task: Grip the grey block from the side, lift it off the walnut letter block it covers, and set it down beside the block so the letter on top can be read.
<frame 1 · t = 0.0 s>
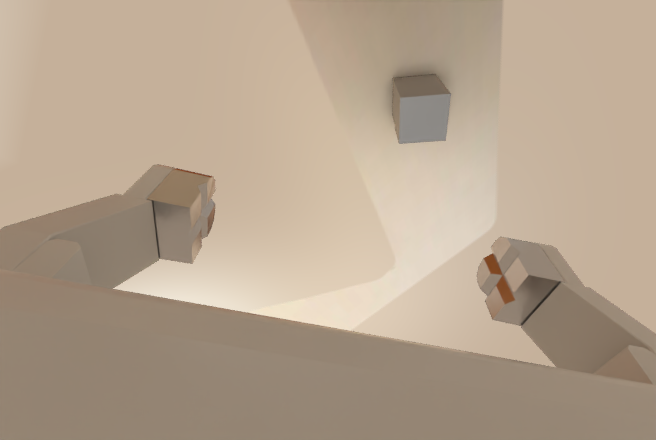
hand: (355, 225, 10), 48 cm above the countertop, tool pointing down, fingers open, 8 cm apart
grey block: (413, 97, 54), on the countertop
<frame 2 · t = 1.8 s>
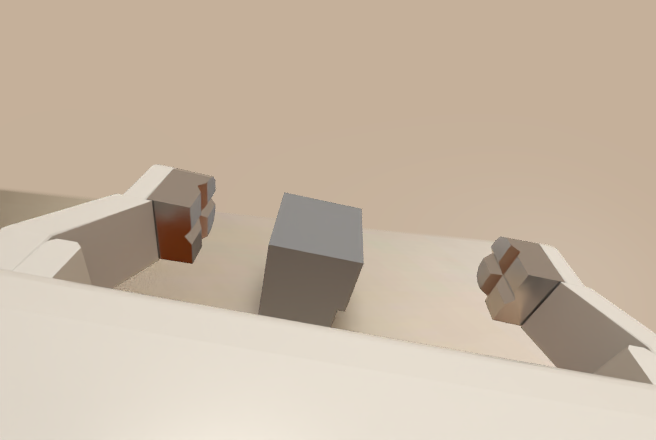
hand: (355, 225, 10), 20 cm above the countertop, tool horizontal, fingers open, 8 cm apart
grey block: (298, 309, 31), on the countertop
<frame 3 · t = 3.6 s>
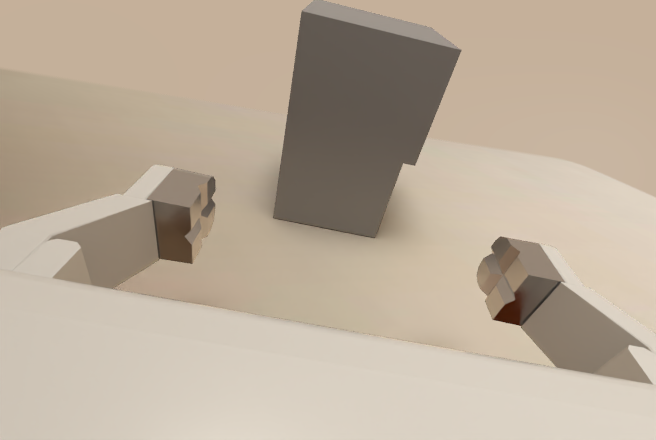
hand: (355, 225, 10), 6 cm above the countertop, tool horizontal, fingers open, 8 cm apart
grey block: (332, 198, 22), on the countertop
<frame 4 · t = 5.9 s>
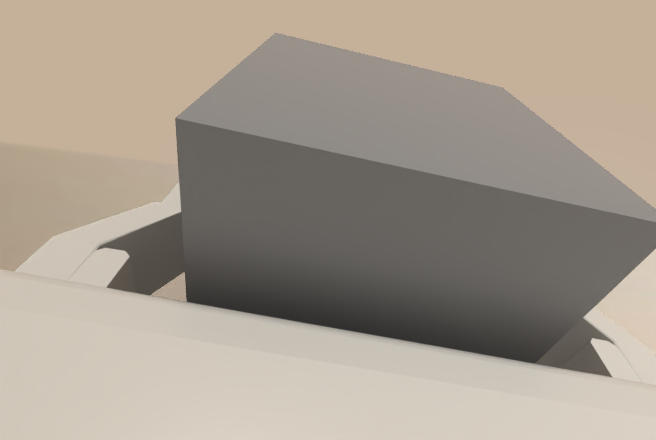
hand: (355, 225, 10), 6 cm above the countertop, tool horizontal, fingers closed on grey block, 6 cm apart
grey block: (315, 365, 13), on the countertop, touching gripper
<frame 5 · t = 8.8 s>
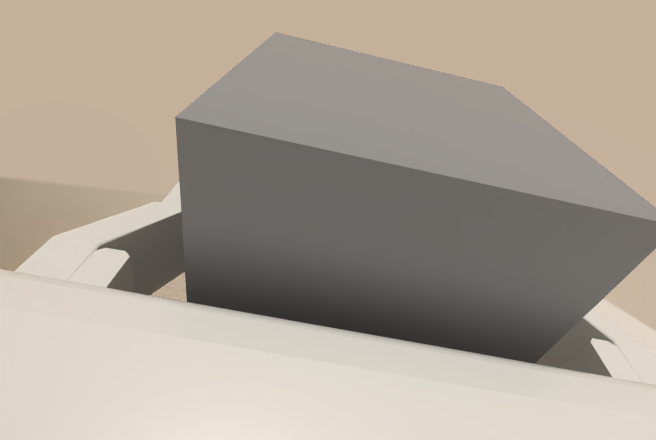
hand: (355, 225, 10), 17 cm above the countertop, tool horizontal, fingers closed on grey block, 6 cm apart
grey block: (315, 365, 13), point 11 cm above the countertop, touching gripper
when the fingers open (7 cm above the countertop, at t = 11.6 s): grey block drops 1 cm, on the countertop.
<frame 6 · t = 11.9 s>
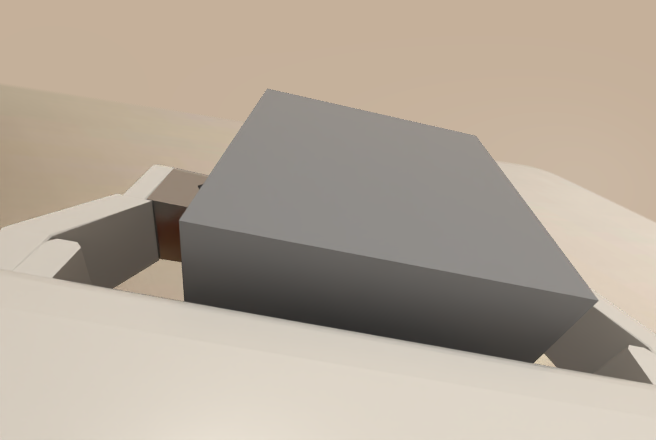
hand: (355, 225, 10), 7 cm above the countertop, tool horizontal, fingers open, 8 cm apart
grey block: (307, 385, 13), on the countertop
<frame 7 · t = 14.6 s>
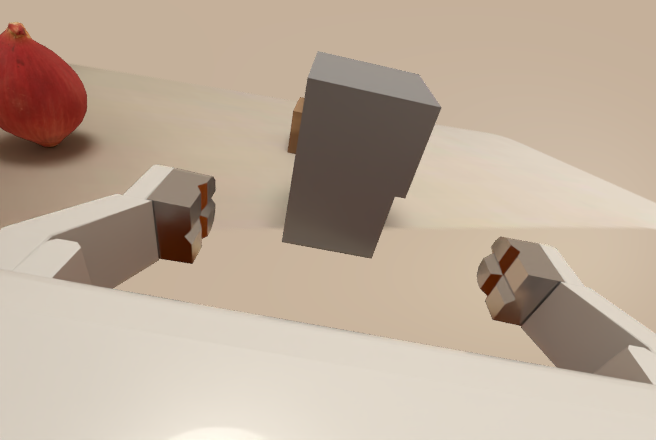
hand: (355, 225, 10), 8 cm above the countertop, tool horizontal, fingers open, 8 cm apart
grey block: (333, 221, 24), on the countertop
letter block: (311, 148, 33), on the countertop
pomegranate: (49, 148, 25), on the countertop
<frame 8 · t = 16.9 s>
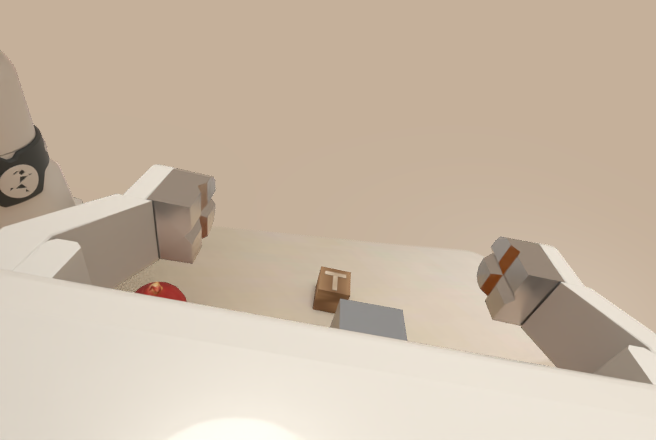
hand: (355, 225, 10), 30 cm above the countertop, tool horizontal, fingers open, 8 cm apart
grey block: (347, 385, 37), on the countertop
letter block: (328, 300, 46), on the countertop
pomegranate: (160, 333, 38), on the countertop
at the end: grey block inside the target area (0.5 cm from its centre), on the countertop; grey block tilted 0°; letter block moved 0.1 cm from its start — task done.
